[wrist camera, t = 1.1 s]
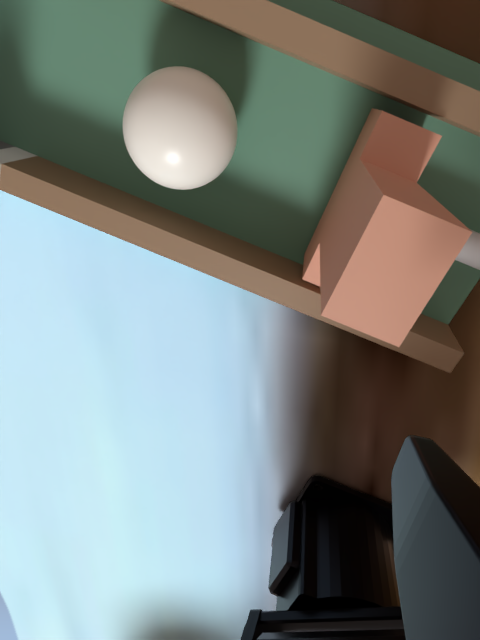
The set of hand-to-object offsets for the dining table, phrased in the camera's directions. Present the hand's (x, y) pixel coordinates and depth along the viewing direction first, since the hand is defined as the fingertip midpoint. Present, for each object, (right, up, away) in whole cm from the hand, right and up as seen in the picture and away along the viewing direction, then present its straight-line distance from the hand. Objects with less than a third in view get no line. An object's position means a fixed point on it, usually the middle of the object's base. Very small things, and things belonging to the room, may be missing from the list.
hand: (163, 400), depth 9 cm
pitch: (+1, +9, +10) cm, 14 cm away
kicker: (+9, +5, +10) cm, 14 cm away
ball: (-1, +8, +8) cm, 11 cm away
